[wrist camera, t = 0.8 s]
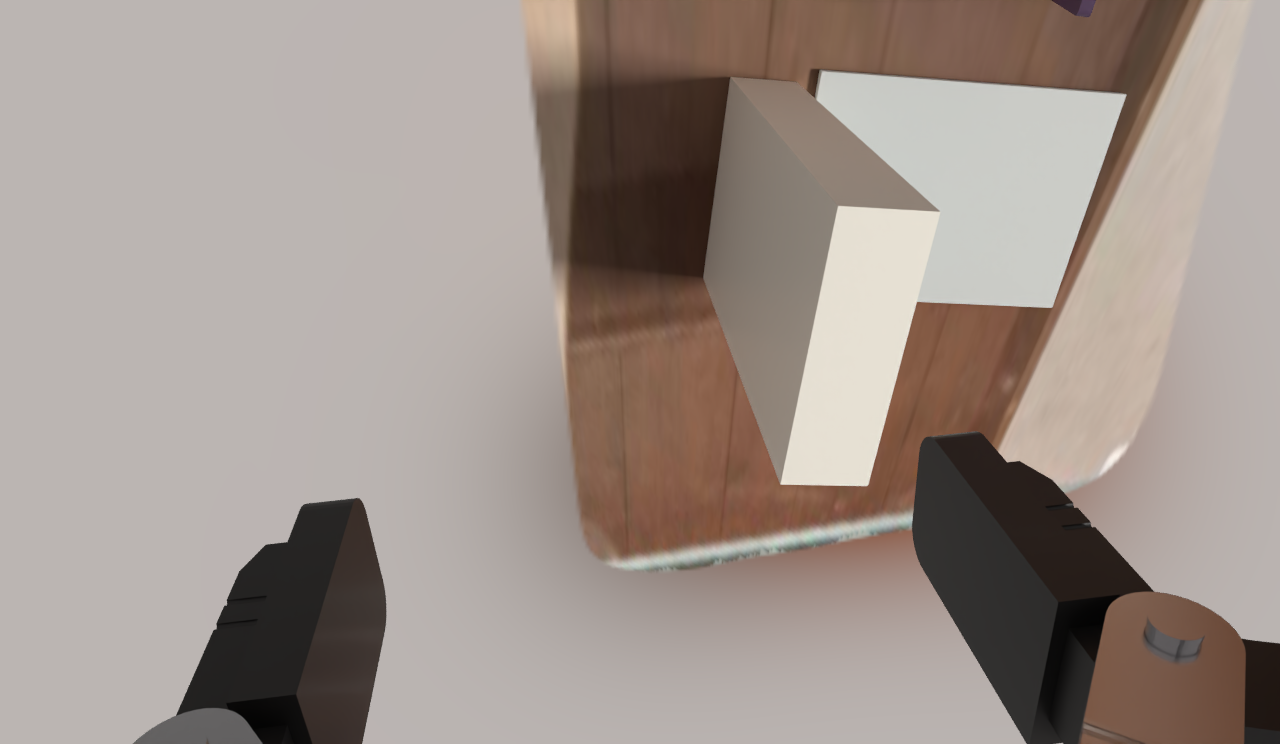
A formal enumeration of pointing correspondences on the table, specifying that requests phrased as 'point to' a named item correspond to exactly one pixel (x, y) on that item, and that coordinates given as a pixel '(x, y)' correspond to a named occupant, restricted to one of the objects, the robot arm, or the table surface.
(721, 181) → the off-white rectangular block
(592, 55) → the table surface
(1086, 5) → the purple frame
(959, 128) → the mat
